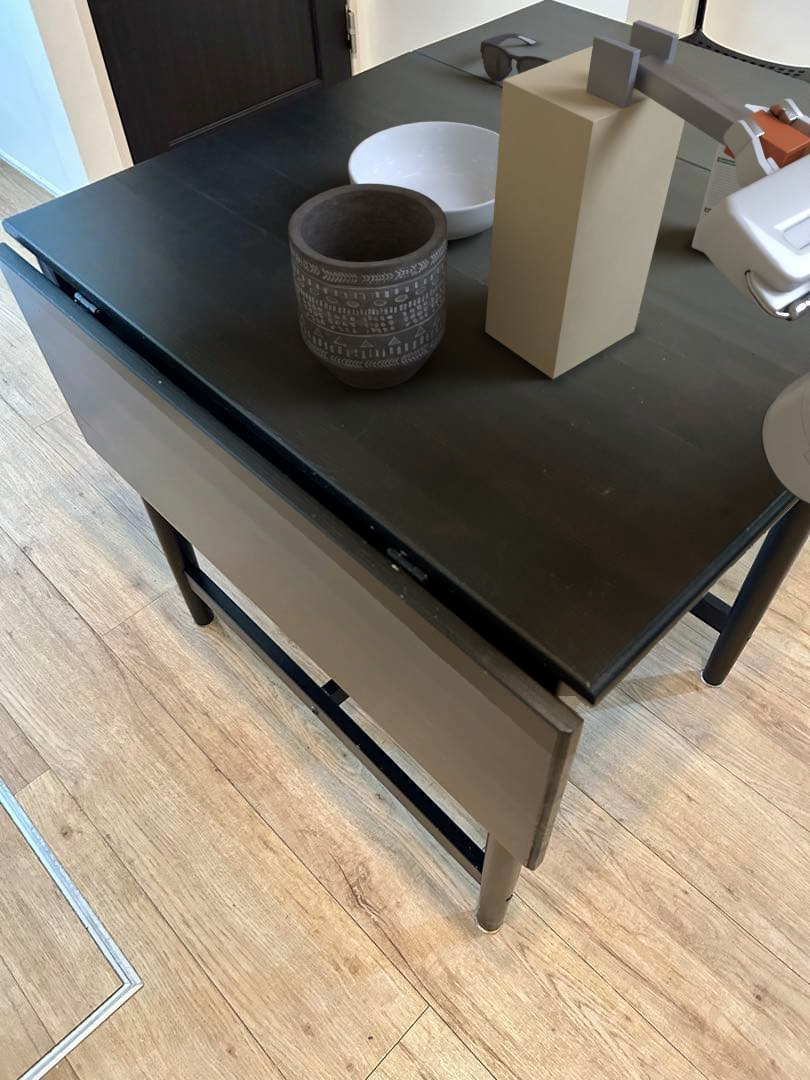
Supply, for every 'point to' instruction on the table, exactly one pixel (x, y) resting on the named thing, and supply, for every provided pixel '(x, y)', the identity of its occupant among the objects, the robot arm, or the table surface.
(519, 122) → the lever stand
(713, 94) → the lever
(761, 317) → the table surface
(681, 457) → the table surface
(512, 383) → the table surface
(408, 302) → the planter
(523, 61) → the sunglasses
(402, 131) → the serving bowl
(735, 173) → the syrup box
